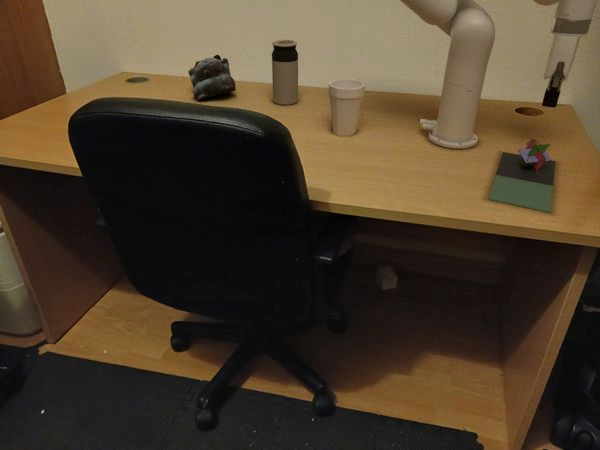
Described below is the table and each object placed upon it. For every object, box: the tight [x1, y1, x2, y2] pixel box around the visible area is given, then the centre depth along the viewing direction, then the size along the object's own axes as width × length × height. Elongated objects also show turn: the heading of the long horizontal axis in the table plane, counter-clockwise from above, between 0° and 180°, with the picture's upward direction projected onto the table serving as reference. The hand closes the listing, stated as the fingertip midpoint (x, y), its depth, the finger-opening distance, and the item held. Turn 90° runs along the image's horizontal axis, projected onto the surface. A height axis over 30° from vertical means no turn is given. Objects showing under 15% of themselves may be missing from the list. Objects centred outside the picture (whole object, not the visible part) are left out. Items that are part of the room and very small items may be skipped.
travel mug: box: [271, 39, 299, 106], centre depth 148 cm, size 8×8×18 cm
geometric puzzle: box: [517, 138, 553, 172], centre depth 111 cm, size 7×7×8 cm
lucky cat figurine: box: [187, 54, 237, 101], centre depth 155 cm, size 15×12×14 cm
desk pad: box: [487, 151, 556, 214], centre depth 108 cm, size 12×26×1 cm, turn 154°
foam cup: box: [328, 78, 366, 136], centre depth 128 cm, size 10×9×13 cm
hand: (548, 105), depth 118 cm, fingers closed
